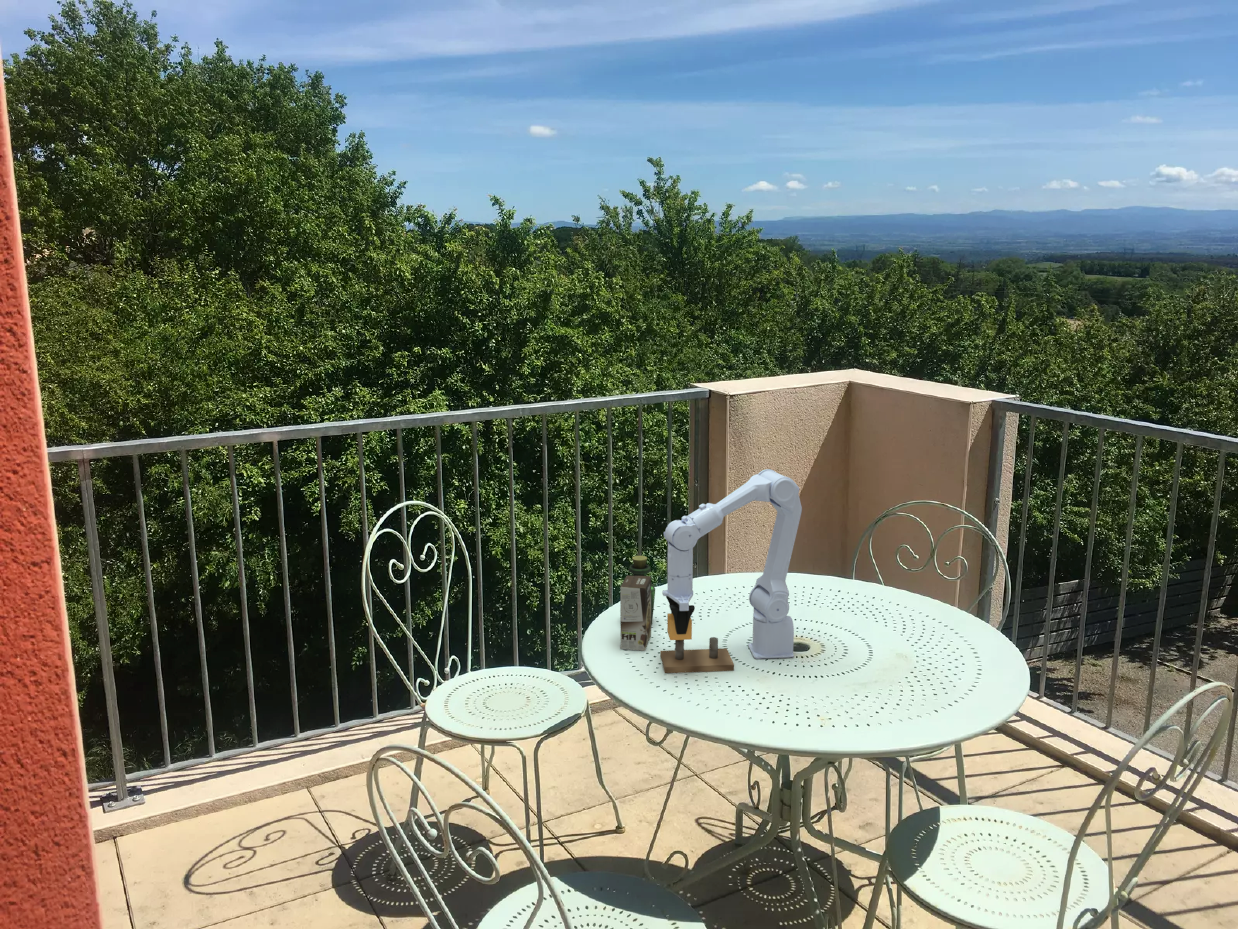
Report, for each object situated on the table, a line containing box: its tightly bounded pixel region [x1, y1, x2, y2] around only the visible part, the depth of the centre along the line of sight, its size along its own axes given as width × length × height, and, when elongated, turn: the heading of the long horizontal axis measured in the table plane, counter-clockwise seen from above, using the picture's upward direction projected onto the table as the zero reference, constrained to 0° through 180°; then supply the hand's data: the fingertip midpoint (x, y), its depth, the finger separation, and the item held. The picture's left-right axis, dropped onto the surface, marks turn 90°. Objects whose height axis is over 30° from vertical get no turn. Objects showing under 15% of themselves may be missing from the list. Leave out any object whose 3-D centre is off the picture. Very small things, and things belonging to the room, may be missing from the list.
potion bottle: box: [628, 555, 656, 626], centre depth 228 cm, size 8×8×18 cm
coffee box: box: [619, 574, 652, 652], centre depth 217 cm, size 9×6×16 cm
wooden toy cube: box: [666, 612, 693, 641], centre depth 204 cm, size 5×5×4 cm
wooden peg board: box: [659, 636, 735, 674], centre depth 206 cm, size 16×9×6 cm, turn 94°
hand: (679, 629), depth 205 cm, fingers closed on wooden toy cube, 5 cm apart
